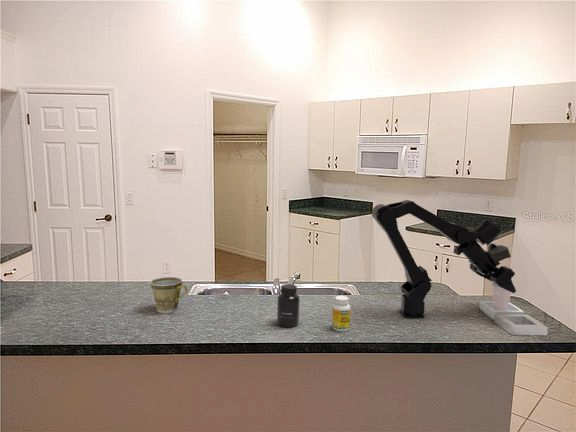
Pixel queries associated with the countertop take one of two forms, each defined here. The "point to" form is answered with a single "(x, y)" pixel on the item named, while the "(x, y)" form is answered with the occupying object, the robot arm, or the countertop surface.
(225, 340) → the countertop surface
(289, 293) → the supplement bottle
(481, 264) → the robot arm
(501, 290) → the smoothie
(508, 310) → the tray
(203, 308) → the countertop surface
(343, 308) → the supplement bottle
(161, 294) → the ceramic cup
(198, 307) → the countertop surface
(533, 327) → the bore block
